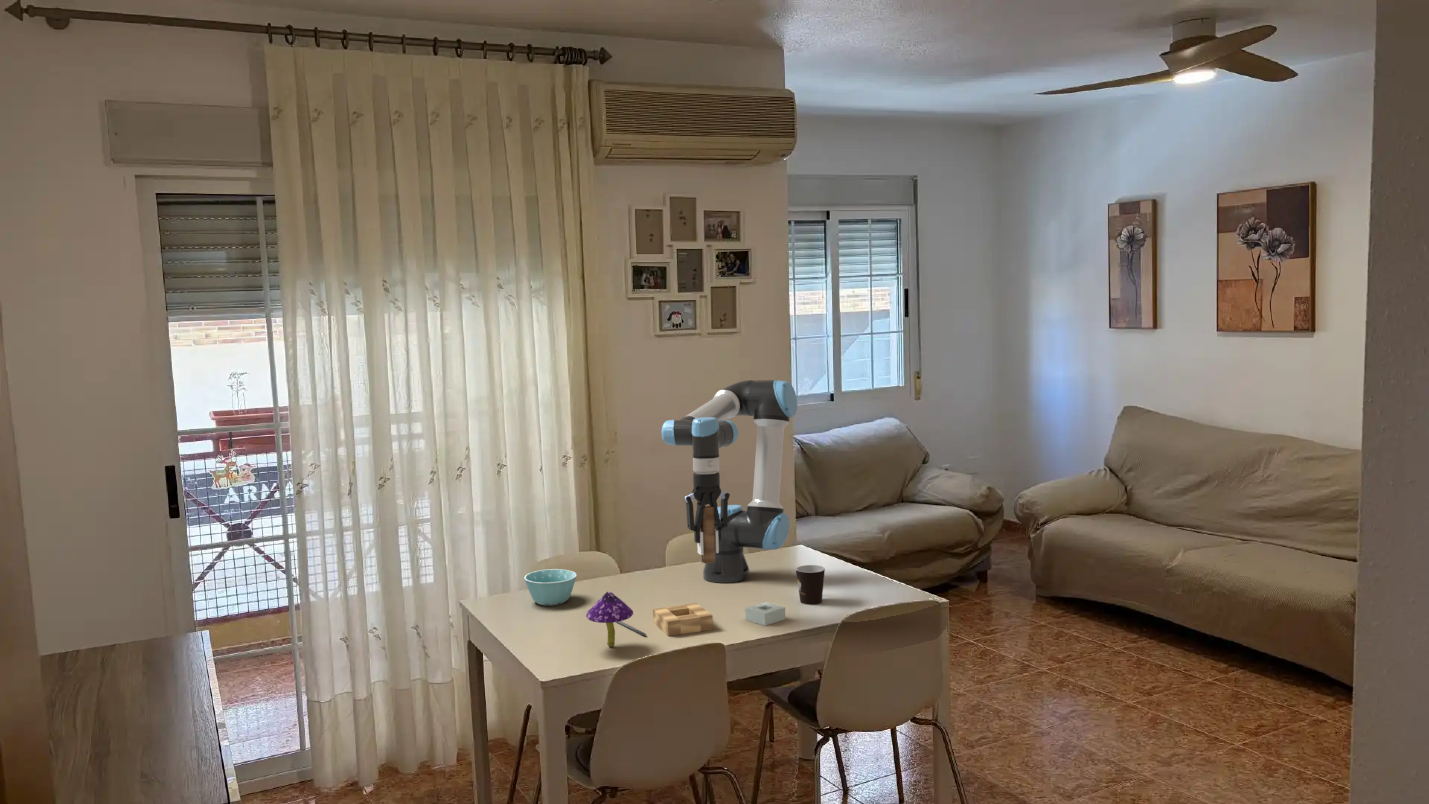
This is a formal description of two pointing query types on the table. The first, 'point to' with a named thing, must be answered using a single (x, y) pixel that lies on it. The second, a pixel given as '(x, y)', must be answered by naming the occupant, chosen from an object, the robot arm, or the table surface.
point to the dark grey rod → (631, 628)
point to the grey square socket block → (765, 613)
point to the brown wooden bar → (708, 535)
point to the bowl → (550, 586)
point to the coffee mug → (810, 583)
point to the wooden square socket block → (682, 619)
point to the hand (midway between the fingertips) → (708, 552)
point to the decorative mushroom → (609, 613)
